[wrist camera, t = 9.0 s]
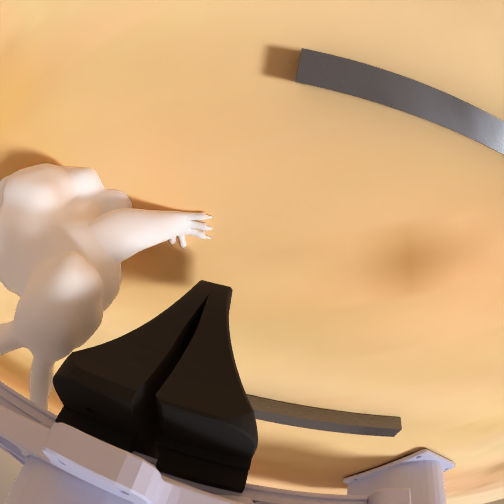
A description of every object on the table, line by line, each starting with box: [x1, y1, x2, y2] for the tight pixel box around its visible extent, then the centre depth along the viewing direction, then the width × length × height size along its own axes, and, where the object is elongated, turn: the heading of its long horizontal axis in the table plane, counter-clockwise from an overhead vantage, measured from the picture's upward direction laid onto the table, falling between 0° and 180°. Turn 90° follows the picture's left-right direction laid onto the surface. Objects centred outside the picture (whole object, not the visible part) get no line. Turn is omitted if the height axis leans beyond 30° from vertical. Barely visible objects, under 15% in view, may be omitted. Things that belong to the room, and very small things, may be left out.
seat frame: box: [247, 49, 504, 437], centre depth 14 cm, size 20×21×1 cm
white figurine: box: [0, 163, 213, 410], centre depth 11 cm, size 12×8×10 cm, turn 68°
